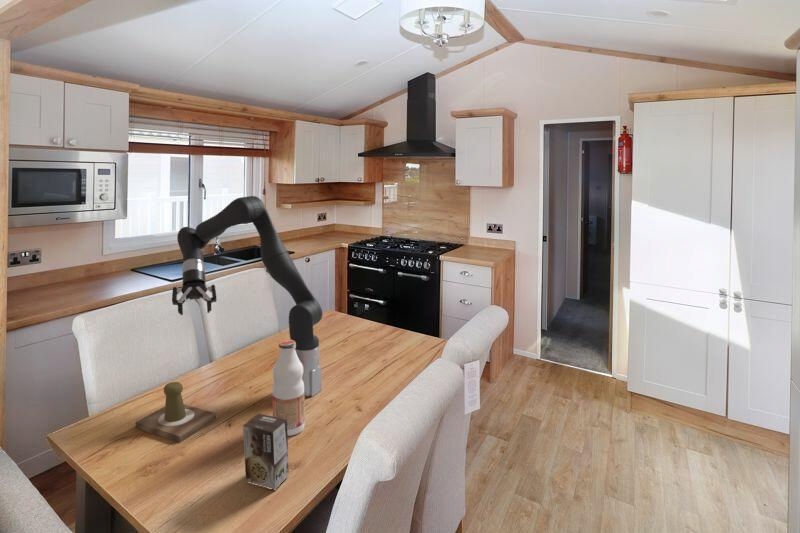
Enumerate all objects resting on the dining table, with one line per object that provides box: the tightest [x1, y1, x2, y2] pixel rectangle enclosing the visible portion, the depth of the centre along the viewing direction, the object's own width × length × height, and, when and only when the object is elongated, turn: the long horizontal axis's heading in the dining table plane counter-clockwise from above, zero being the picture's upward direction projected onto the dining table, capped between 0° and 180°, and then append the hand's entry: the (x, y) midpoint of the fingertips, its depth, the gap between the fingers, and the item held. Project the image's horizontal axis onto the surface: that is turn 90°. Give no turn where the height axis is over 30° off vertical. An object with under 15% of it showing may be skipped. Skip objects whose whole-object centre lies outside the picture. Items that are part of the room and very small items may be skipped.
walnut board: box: [134, 404, 217, 443], centre depth 139 cm, size 18×14×2 cm
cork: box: [163, 381, 186, 422], centre depth 137 cm, size 6×6×11 cm
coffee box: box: [242, 413, 290, 489], centre depth 113 cm, size 9×6×16 cm
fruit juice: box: [271, 339, 306, 437], centre depth 135 cm, size 9×9×28 cm
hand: (195, 312), depth 156 cm, fingers open, 8 cm apart
